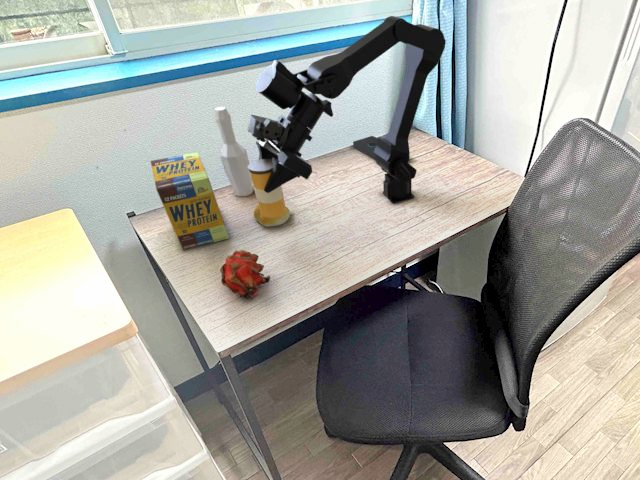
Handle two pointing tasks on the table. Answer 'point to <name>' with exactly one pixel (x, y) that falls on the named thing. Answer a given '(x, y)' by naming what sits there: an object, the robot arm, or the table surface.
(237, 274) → the dragon fruit
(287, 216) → the bread roll
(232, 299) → the table surface
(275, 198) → the tube
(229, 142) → the low poly bottle
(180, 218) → the protein box
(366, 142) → the smart home device
